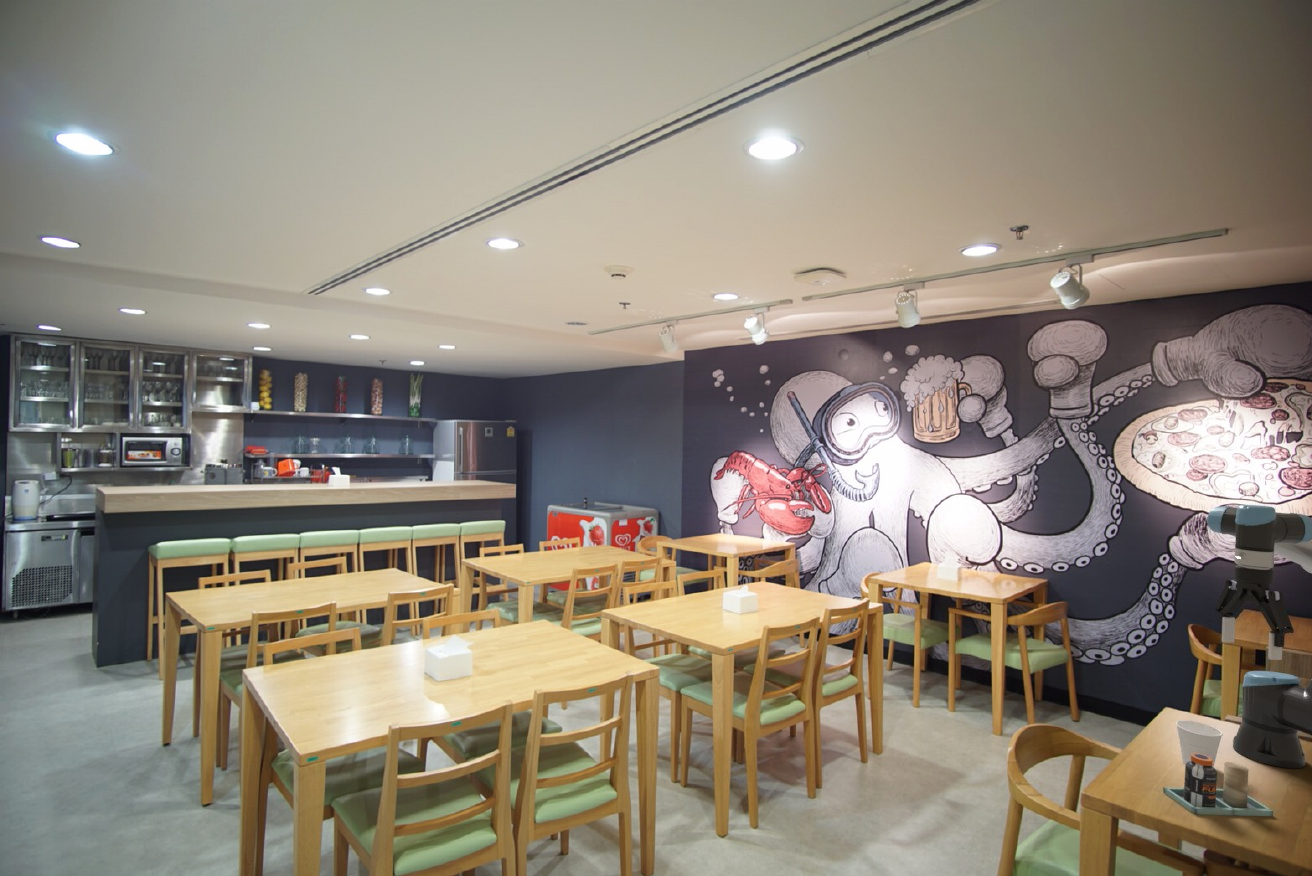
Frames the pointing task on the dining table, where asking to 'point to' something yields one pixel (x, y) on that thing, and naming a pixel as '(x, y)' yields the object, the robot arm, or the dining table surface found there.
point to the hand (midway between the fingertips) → (1250, 650)
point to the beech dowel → (1235, 785)
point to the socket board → (1219, 805)
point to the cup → (1198, 739)
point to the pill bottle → (1200, 781)
